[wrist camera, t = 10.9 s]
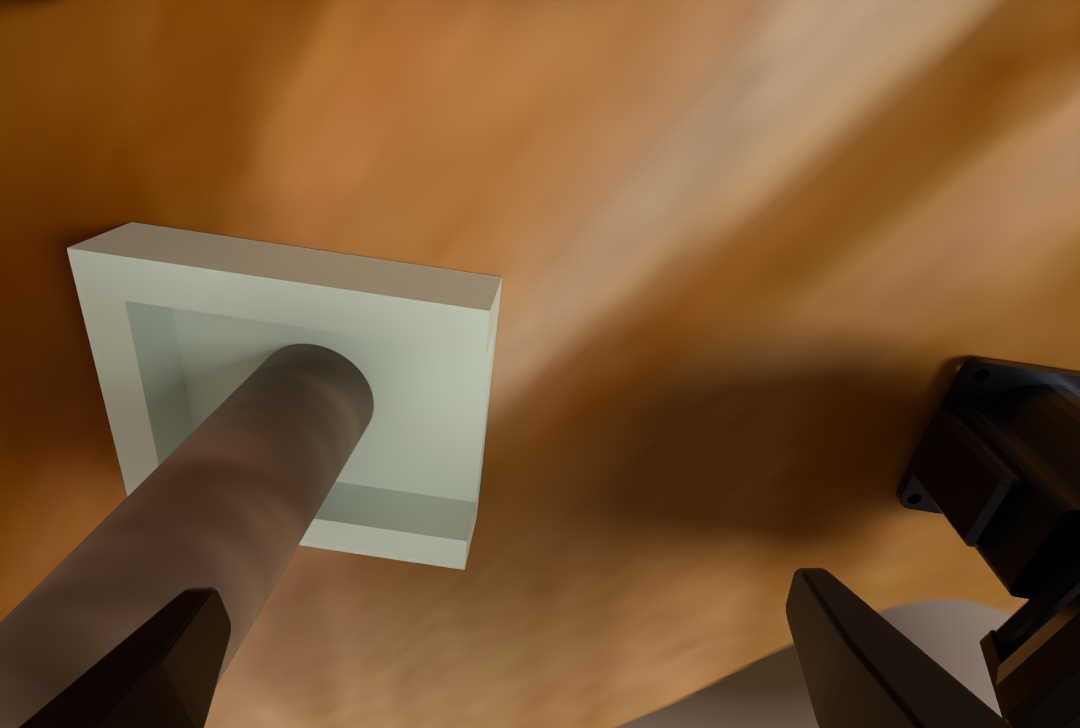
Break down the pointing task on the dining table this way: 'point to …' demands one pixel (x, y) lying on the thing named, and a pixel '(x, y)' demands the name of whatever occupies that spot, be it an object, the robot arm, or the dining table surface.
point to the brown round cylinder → (195, 525)
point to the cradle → (302, 318)
